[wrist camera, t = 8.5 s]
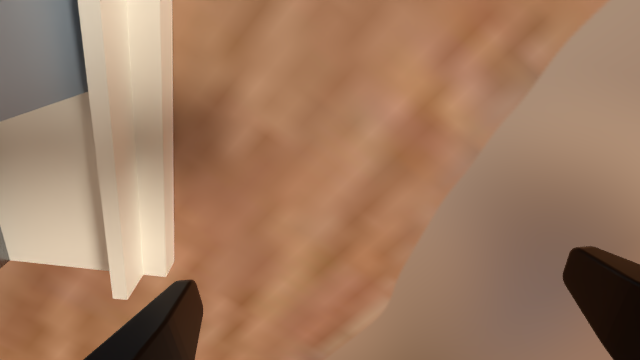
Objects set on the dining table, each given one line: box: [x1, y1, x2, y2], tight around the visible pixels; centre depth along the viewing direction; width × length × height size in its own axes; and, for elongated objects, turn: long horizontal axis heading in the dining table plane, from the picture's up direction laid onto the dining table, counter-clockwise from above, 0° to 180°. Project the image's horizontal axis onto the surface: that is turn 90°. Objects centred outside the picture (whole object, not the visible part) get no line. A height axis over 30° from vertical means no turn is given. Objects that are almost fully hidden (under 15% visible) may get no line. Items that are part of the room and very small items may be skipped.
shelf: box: [0, 0, 174, 300], centre depth 16 cm, size 20×10×4 cm, turn 169°
